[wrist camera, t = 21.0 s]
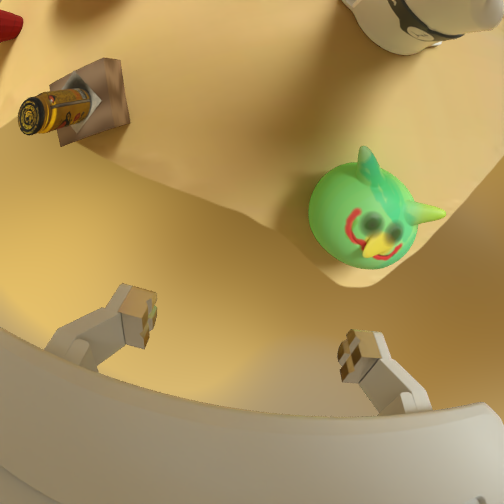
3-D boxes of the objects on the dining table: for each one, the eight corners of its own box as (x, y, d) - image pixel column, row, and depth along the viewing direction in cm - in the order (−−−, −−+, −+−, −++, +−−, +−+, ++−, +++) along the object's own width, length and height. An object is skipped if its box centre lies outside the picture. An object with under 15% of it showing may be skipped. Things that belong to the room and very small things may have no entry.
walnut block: (69, 83, 37) (49, 84, 31) (121, 60, 35) (103, 57, 30) (79, 139, 43) (60, 147, 37) (131, 122, 41) (114, 127, 36)
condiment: (77, 133, 36) (29, 151, 26) (52, 103, 33) (3, 115, 23) (102, 100, 34) (53, 109, 24) (75, 70, 31) (24, 72, 20)
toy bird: (286, 214, 49) (293, 260, 36) (336, 129, 40) (366, 145, 28) (366, 255, 52) (391, 305, 39) (415, 184, 44) (459, 218, 31)
